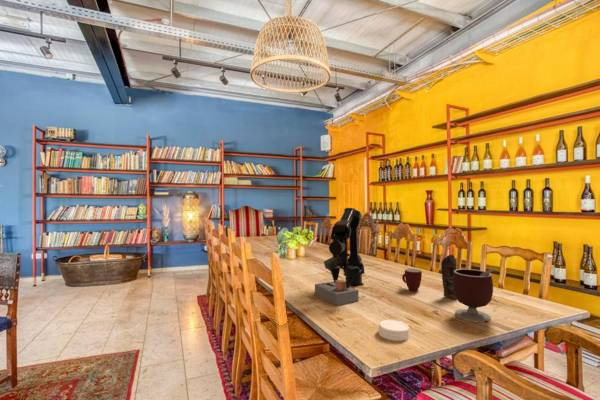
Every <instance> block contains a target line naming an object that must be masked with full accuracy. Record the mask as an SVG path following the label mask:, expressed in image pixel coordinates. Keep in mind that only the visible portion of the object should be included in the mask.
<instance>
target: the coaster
mask: <svg viewBox="0 0 600 400" xmlns="http://www.w3.org/2000/svg"><path fill="white" fill-rule="evenodd" d="M378 334H379V336H380V337H381V338H383V339H385V340H389V341H393V342H394V341H395V342H403V341H406V340H408V339H409V337H410V326H409V325H408V324H407V323H406V322H403V321H400V320H397V319H384V320H382V321H380V322H379V323H378Z"/></svg>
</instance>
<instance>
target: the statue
mask: <svg viewBox="0 0 600 400" xmlns="http://www.w3.org/2000/svg"><path fill="white" fill-rule="evenodd" d="M440 266H441V279H442V287H443V296H444V297H445V298H447V299H450V300H457V298H456V297H455V295H454V292H453V274H454V270H457V262H456V258H455V256H454V254H449V255H447V256H445V257H444V258H442V261H441V264H440Z"/></svg>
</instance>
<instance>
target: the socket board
mask: <svg viewBox="0 0 600 400" xmlns="http://www.w3.org/2000/svg"><path fill="white" fill-rule="evenodd" d="M314 296H316V297H318V298H321V299H322V300H323V301H327V302H329V303H331V304H332V305H335V306H337V307H338V306H342V305H346V304H351V303H357V302H359V290H358V289H356V288H355V287H351V286H350V287H349V288H348V291H344V292H339V291H337V290H335V283H334V280H333V281H328V282H323V283H322V282H320V283H315V284H314Z"/></svg>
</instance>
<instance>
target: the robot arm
mask: <svg viewBox="0 0 600 400" xmlns="http://www.w3.org/2000/svg"><path fill="white" fill-rule="evenodd" d="M362 215H363V214H362V212H361V211H359V210H357V209H355V208H353V207H346V208H344V211H343V214H342V216H341V218H340V220H339V221H336V222H335V223H334V224H333V226H332V228H331V233H330V240H332V241H331V243H329V246H328V251H329V252H330V253H331V254H332V256H331V257H329V258H328V259H326V260H323V265H324V268H325V269H326V270H328V271H329V272H330V273H331V276H332V280H333V281H334V283H335V280H339V275H340V272H341V271H340V270H343V276H344V277H345V280H346V287H347V288H349V287H351V286H354V287H357V286H363V285H364V283H363V279H362V278H363V276H362V275H364V274H365V266H364V262H362V260H363V259H362V258H361V255H360V254H359V229H358V228H359V226H360V224H361V222H362V217H363V216H362ZM348 240H349V242H348ZM348 243H349V244H348ZM348 245H349V246H348ZM348 247H349V249H348ZM348 250H349V251H348Z"/></svg>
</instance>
